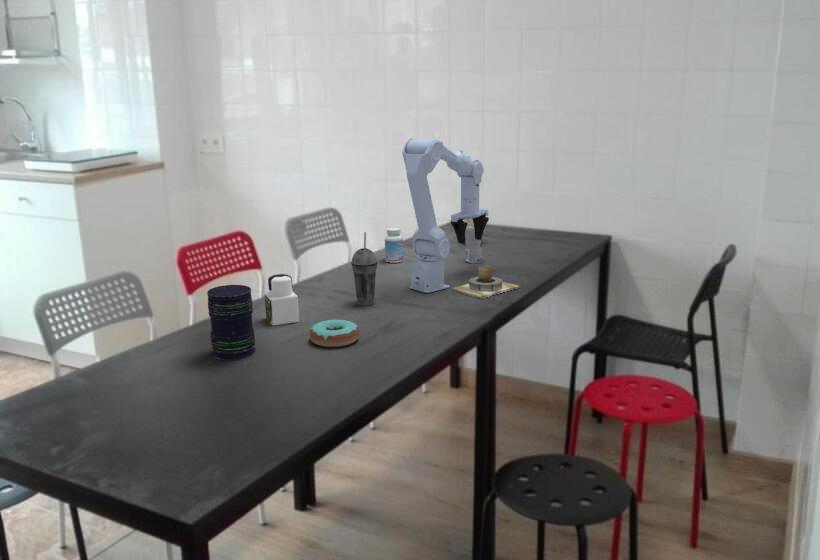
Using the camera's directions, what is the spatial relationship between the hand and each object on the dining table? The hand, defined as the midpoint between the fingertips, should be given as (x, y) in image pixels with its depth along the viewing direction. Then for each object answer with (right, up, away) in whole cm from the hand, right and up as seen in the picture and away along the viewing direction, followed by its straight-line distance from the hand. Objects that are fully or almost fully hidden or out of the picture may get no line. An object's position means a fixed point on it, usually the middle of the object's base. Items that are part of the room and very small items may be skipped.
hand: (469, 241), depth 239 cm
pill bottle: (-24, -6, +20) cm, 32 cm away
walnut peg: (+3, -14, -16) cm, 21 cm away
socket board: (+3, -15, -16) cm, 22 cm away
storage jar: (-59, -29, -63) cm, 92 cm away
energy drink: (+3, -6, +18) cm, 19 cm away
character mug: (+5, +1, +43) cm, 44 cm away
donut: (-37, -27, -56) cm, 72 cm away
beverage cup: (-31, -19, -27) cm, 45 cm away
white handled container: (-52, -23, -41) cm, 70 cm away
